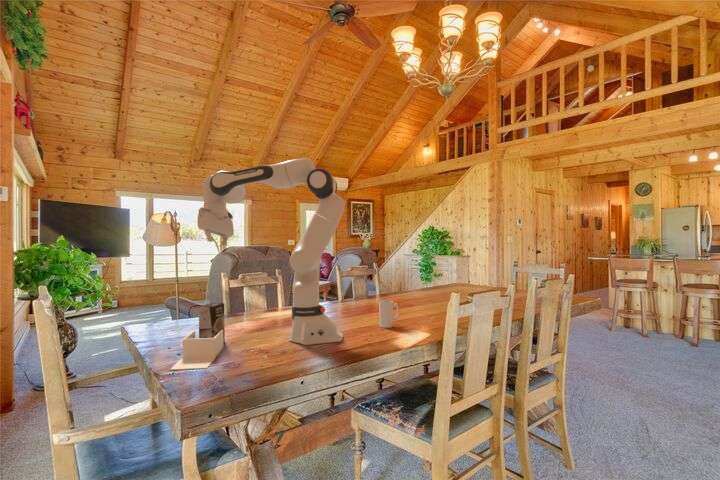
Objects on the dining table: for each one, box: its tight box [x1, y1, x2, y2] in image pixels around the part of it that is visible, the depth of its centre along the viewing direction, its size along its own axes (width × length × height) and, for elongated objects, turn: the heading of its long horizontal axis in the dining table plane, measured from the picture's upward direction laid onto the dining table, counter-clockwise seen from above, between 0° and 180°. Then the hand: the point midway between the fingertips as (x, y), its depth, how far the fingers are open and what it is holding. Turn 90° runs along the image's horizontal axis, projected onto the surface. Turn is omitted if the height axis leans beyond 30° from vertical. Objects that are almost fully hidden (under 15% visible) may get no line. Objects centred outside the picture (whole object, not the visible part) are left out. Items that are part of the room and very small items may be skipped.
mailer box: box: [169, 330, 224, 371], centre depth 142 cm, size 12×25×7 cm, turn 7°
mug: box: [378, 299, 400, 329], centre depth 187 cm, size 10×7×12 cm, turn 105°
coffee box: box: [198, 302, 226, 343], centre depth 160 cm, size 9×6×16 cm
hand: (217, 243), depth 165 cm, fingers open, 8 cm apart
